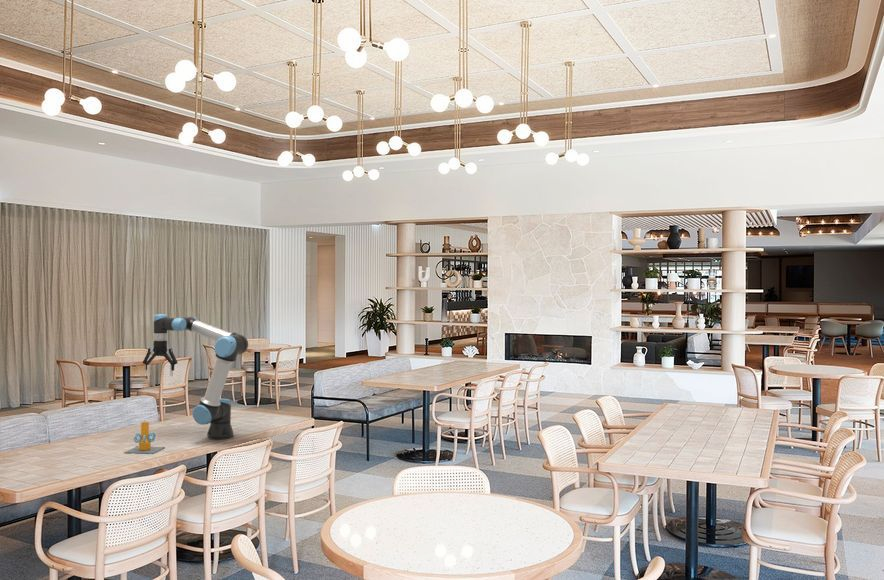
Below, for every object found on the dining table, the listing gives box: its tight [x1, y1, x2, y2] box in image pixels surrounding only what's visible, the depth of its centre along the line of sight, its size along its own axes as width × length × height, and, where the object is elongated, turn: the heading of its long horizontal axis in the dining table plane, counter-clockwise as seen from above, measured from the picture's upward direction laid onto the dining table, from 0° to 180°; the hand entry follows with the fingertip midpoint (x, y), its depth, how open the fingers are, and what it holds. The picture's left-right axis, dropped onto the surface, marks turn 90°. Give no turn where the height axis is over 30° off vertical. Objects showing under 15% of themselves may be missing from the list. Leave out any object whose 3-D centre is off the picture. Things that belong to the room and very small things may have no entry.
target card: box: [124, 445, 166, 455], centre depth 385 cm, size 16×14×1 cm
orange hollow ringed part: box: [133, 420, 156, 451], centre depth 385 cm, size 12×10×15 cm
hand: (160, 375), depth 418 cm, fingers open, 13 cm apart
